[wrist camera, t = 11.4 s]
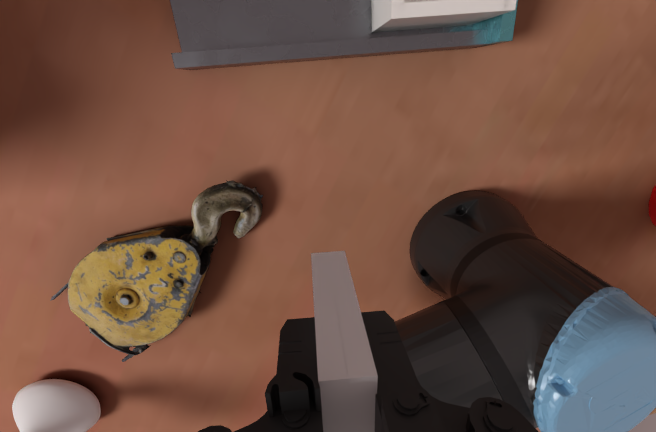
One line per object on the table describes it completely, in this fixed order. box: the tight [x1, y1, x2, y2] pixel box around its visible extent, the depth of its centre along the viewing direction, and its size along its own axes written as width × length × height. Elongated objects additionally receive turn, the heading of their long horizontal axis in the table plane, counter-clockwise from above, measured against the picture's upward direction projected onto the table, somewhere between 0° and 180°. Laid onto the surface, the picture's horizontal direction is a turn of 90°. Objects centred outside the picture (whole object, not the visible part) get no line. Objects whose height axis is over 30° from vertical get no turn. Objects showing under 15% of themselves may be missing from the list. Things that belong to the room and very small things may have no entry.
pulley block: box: [50, 181, 263, 362], centre depth 38 cm, size 14×6×30 cm
